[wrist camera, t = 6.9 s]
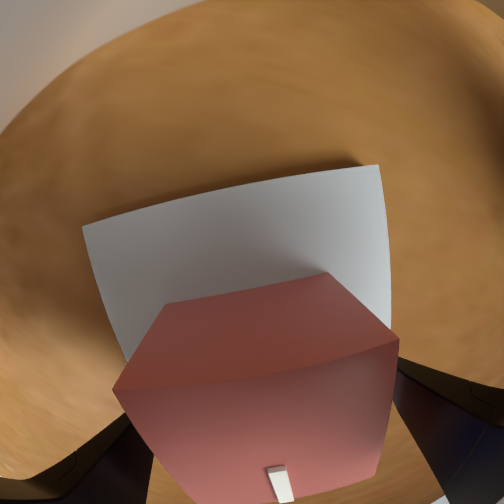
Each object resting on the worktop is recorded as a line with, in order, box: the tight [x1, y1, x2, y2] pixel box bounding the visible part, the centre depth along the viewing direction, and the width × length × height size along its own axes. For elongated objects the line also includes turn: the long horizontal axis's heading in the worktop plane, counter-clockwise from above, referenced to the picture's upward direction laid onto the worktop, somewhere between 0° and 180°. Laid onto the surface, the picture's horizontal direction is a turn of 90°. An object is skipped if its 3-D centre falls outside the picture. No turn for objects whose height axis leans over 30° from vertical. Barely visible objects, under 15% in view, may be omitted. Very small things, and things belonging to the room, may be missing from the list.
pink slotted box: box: [112, 272, 399, 504], centre depth 8 cm, size 6×6×6 cm
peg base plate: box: [82, 165, 391, 363], centre depth 10 cm, size 12×14×5 cm
